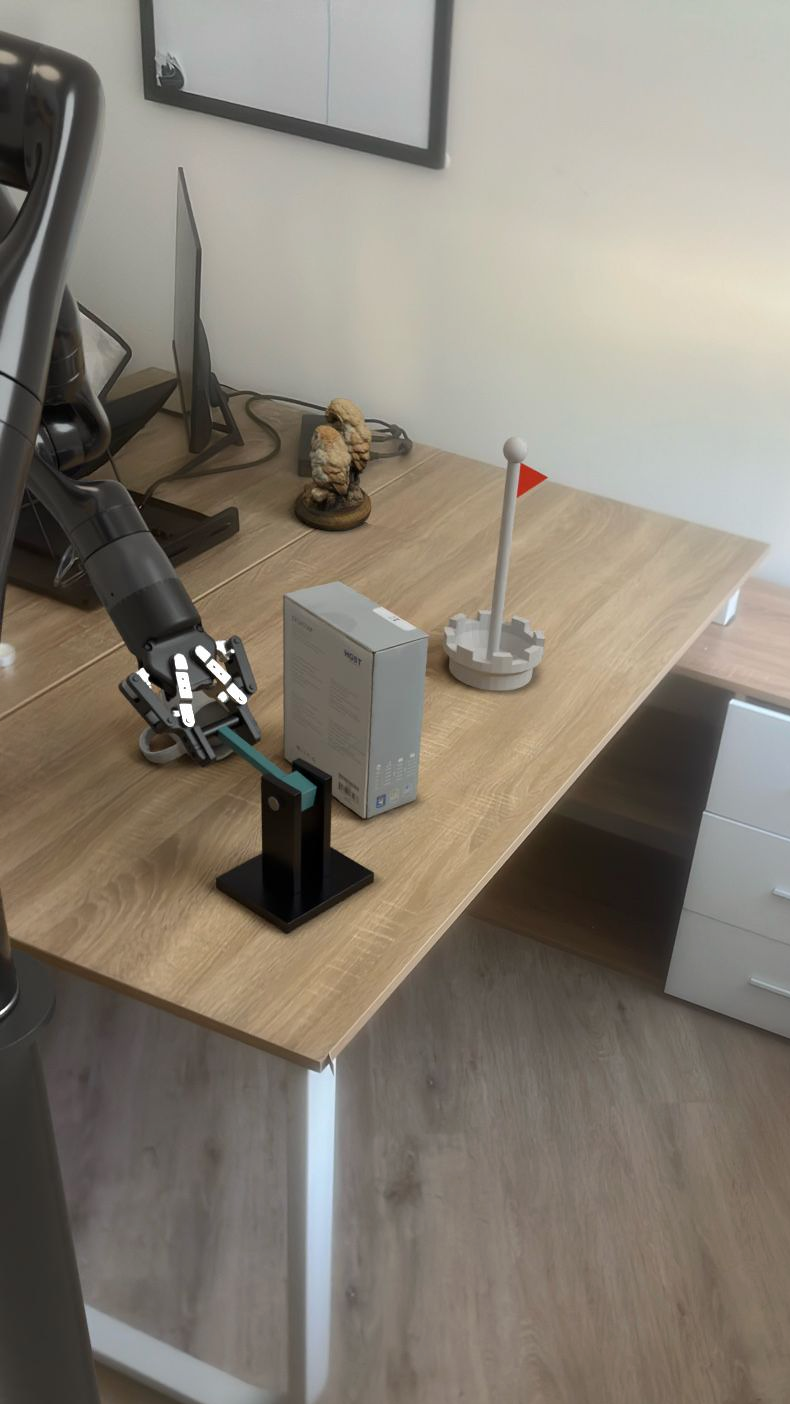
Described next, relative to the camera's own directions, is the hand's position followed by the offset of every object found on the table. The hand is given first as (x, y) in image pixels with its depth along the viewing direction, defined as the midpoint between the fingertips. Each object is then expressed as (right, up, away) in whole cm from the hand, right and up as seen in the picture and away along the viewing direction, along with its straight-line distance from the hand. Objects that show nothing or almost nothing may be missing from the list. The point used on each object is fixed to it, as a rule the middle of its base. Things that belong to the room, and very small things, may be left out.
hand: (232, 753), depth 124 cm
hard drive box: (+8, 0, +20) cm, 21 cm away
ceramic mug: (-10, +4, +20) cm, 22 cm away
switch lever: (+3, -2, -1) cm, 4 cm away
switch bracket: (+6, -13, +4) cm, 14 cm away
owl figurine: (-3, +51, +78) cm, 93 cm away
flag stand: (+24, +18, +44) cm, 53 cm away
